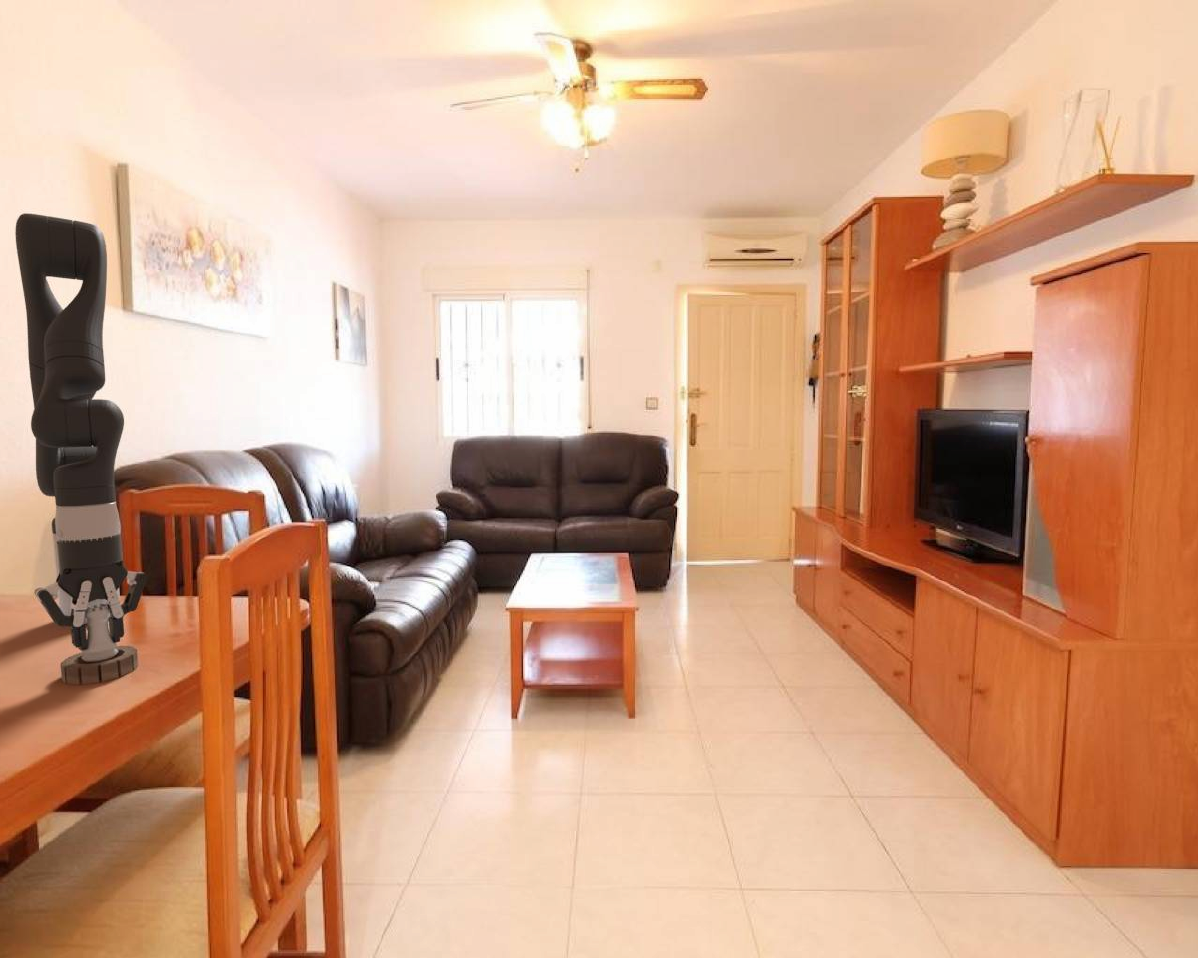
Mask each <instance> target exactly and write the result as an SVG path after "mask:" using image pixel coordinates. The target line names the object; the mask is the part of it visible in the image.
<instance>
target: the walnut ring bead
mask: <svg viewBox="0 0 1198 958" xmlns="http://www.w3.org/2000/svg"><path fill="white" fill-rule="evenodd" d="M115 649H117V650H118V653H117V654H116V655H115V656H114V657H112V658H110V659H107V660H103V661H98V662H86V661H84V660H83V659H82V656H84V654H83V653H82V652H79V653H76V654H74V655H70V656H69V657H67V658H65V659H64V660H63V661H61V662H60V672H61V673H60V674H61V681H62V682H63V683H64V684H67V685H75V686H80V685H82V686H83V685H91V684H97V683H100V682H101V683H103V682H107V681H110V680H115V679H117V678H119V677H124V676H125V675H128V674H130V673H132V672H134V671H136V669H137V668H138V666H139V658H138V649H137V648H136V647H134V646H131V645H117V647H116V648H115Z"/></svg>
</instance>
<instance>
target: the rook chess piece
mask: <svg viewBox="0 0 1198 958" xmlns="http://www.w3.org/2000/svg"><path fill="white" fill-rule="evenodd" d="M109 612H110V610H109V609H108V608H107V605H106V604H100V607H97V604H95V605H93V608H91V606H87V610H86V611H85V617H86V618H87V623H86V624H85V626H87V633H86V637H87V649H86V650H82V651H81V653H83V654H84V656H82V659H83V660H84V661H86V662H98V661H103V660H107V659H110V658H112V657H114V656H115V655H116V654H117V653H118V650H117V649H115V648H116V647H118V644H117V642H116V643H114V641H113V638H111V636H110V630H109V619H107V614H108V613H109Z"/></svg>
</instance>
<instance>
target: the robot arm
mask: <svg viewBox="0 0 1198 958" xmlns="http://www.w3.org/2000/svg"><path fill="white" fill-rule="evenodd" d="M15 245H16V253H17V254H16V255H17V259H18V266H19V272H20V278H21V283H22V284H21V285H22V292H23V297H24V304H25V312H26V326H27V328H26V329H27V349H28V350H27V353H28V355H27V356H28V365H29V366H28V369H29V378H30V387H31V392H32V400H33V401H32V402H33V408H34V409H33V412H32V416H31V420H30V428H31V432H32V434H33V437H34V438H35V475H36V476H35V477H36V480H37V485H38V488H39V490H40V492H41V493H42V494H43V495H45V496H46V497H52V498H53V497H54V500H55V516H54V518H53V519H52V522H51V530H52V541H53V542H52V543H53V544H52V545H53V549H54V550H53V551H54V563H55V574H56V575H55V576H56V579H55V582H54V583H51V584H49V585H47V586H45V587H37V588H36V589H35V590H34V594H35V597H36V598H37V599H38V601H39V602H40V603H41V605H42V607H43V608H44V609H45V612H47V613H48V615H49V617H50V618H51V619H52V621H53V622H54V623H55V624H56V625H57V626H60V627H64V626H68V627H70V635H71V644H72V646H74V647H75V648H76V649H78V650H80V651H81V652H82V650H86V649H87V629H86V628H87V627H86V626H87V625H86V623H87V618H86V617H85V611H86V610H87V606H91V608H93V605H95V604H97V607H100V604H106V605H107V608H108V609H109V610H110V612H109V613H108V614H107V619H108V620H109V621H108V629H109V633H110V636H111V638H113V641H114V643H116V644H117V643H119V642H121V638H123V637H124V635H125V628H124V627H125V625H124V617H125V616H126V615H127V614H128V613H130V612H134V611H136V610H137V609H138V605H139V603H140V600H141V597H142V594H143V592H144V590H145V587H146V584H147V580H148V577H149V576H148V574H146V573H145V572H143V571H141V570H138V571H130V570H128V568H127V567H126V566H125V565H124V559H123V557H124V556H123V546H122V533H121V530H122V524H121V521H120V520H121V519H120V513H119V510H118V507H117V500H116V487H115V486H116V485H115V465H116V458H117V453H118V449H119V446H120V442H121V439H122V434H123V432H124V431H123V430H124V426H125V416H124V414H123V411H122V410H121V408H120V406H118V404H117V403H115V402H113V401H112V400H109V399H93V398H94V397H95V395H96V394H97V392H98V391H100V390H102V389H103V387H104V386H105V383H106V368H105V367H106V366H105V354H104V344H103V343H104V342H103V339H104V338H103V337H104V336H103V333H104V331H103V330H104V320H105V319H104V317H105V312H106V311H105V310H106V299H107V281H108V280H107V278H108V277H107V275H108V254H107V245H106V240H105V236H104V233H103V231H102V230H101V228H100V227H98V226H97V225H96V224H95V225H94V224H91V223H89V222H84V221H80V220H73V219H69V218H61V217H55V216H49V215H48V216H47V215H44V214H43V215H42V214H36V213H27V212H26V213H22V214H20V215H19V216H18V218H17V219H16V224H15ZM47 277H48V278H49V277H51V278H59V279H60V278H61V279H69V280H78V281H82V283H81V286H80V289H79V291H78V292H77V294H76V295H75V296H74V297H73V299H72V300H71V301H70V302H69V303H68V304H67V306H66V307H64V308H62V306H61V304H60V303H59V301H58V300H57V299H56V297H55V295H54V293H53V291H52V289H51V286H50V284H49V282H48V279H47ZM126 579H127V580H126ZM125 580H126V583H127V584H128V585H129V586H128V590H127V591H126V595H125V598H124V601H123V603H122V604H121V595H120V594H121V593H120V586H122V584H123V582H124V581H125ZM57 599H58V603H57V602H56V600H57Z"/></svg>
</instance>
